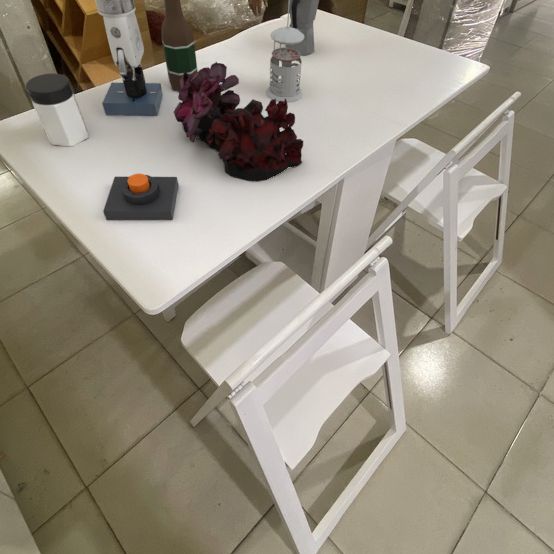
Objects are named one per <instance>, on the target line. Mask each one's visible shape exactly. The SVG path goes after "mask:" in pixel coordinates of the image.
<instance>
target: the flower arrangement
mask: <svg viewBox="0 0 554 554" xmlns="http://www.w3.org/2000/svg"><path fill="white" fill-rule="evenodd" d="M197 71H198V72H197V73H196V74H195V76H194V75H189V74H188V73H186V72H185V73H183V77H182V78H181V80H180V85H181V90H180V92H179V91H178V96H177V97H178V100H179V101H180V102H178V103H177V105H176V107H175V108H174V110H173V114H174V117H175V120H176V121H177V122H178V123H181V125H182V128H183V131H184V132H185V133H186V137H187V138H189V141H191V142H192V143H195V141H196V138H198V140H199V141H200V142H202V143H203V144H206V146H207V147H208V148H209V149H211V150H215V151H216V152H218V153H217V155H218V158H219V159H220V160H222V162H223V163H222V164H223V167H224V173H225V174H227V175H228V176H230V177H231V178H235V179H238V180H243V181H247V182H261V181H262V180H263V181H268V180H270V179H272V178H274V177H276V175H277V174H279V173H280V174H282V173H283V172H285V171H286V170H288V169H289V168H288V167H292V168H295V167H294V166H298V165H299V166H300V165H302V164H303V160H302V156H303V155H302V150H303V147H304V140H302V138H298V135H297V134H296V132H295V129H292V127H294V124H296V116H295V113H293V112H288V109H289V108H288V107H289V105H288V102H287V100H286V99H284V101H276V99H274V100H272V99H270V100H269V103H268V104H267V105H266V107H265V109H264V106H263V103H262V102H261V101H260V100H256V99H254V98H253V99H251V100H250V101H249V102H248V103H247V104H246V106H245V107H243V108H242V107H238V106H239V105H240V103H241V97H240V94H238V93H236V92H235V90H233V89H232V88H234V87H236V86H238V85H239V84H240V79H239V77H238V76H237V75H236V74H231V75H229V76H227V71H228V67H227V65H225V64H224V63H220V62H218V61H215V62H214V63H212V64H211V65H210V67H209V66H207V67H206V66H205V67H202V68H201V69H199V70H197ZM222 92H223V93H222ZM263 110H264V111H265V112H266V113H267V116H264V115H263V114H262V113H263ZM281 129H282V130H281ZM301 163H302V164H301ZM299 166H298V167H299ZM287 168H288V169H287ZM284 170H285V171H284ZM281 172H282V173H281ZM280 174H279V175H280ZM273 176H274V177H273ZM277 176H278V175H277ZM271 177H272V178H271ZM269 178H270V179H269ZM267 179H268V180H267Z"/></svg>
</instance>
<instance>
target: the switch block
mask: <svg viewBox="0 0 554 554" xmlns="http://www.w3.org/2000/svg"><path fill="white" fill-rule="evenodd" d="M145 175H146V176H147V177H148V181H149V184H150V188H149V189H148V190H147V191H145V192H142V193H133V192H132V191H131V190H130V188H129V185H128V178H129V177H130V176H113V177H114V178H113V181H112V183H111V186H110V190H109V193H108V196H107V199H106V202H105V205H104V207H103V210H102V213H103V215H104V217H105V219H106V221H173V220H174V214H175V209H176V202H177V199H178V191H179V181H178V180H179V179H178V176H151V175H149V174H145Z"/></svg>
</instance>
